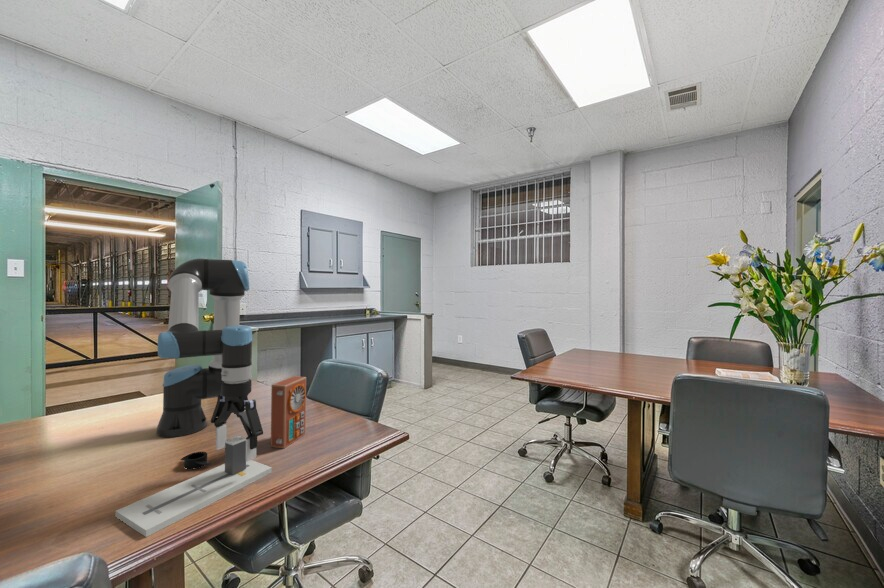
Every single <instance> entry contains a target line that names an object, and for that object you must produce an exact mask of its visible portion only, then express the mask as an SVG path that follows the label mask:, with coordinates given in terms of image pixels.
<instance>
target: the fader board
mask: <svg viewBox="0 0 884 588" xmlns="http://www.w3.org/2000/svg"><path fill="white" fill-rule="evenodd" d="M272 473H273V467H272V466H269V465H266V464H263V463H260V462H258V461H255V460H254V459H252V460H250V461H248V462H247V461H246V469H245V470H242V471H240V472H238V473H236V474H234V475H231V474H228V473H226V472H225V463H223V464H221V465H218V466H216V467H214V468H211V469H209V470H207V471H205V472H202V473H200V474H198V475H195V476H193V477H190V478H188V479H186V480H184V481H182V482H178V483H177V484H175V485H172V486H170V487H167V488H166V489H162V490H160V491H158V492H155V493H154V494H151V495H149V496H147V497H144V498H142V499H140V500H137V501H135V502H132V503H131V504H129V505H126V506H123V507H121V508H119V509H116V510H115V518H116V517H117V518H116V519H118V520H119V519H120V521H121V522H122V521H123V522H122V523H124V524H125V523H126V525H127V526H128V527H130V528H131V529H133V530H134V531H135V532H137V533H139V534H141V535H142V536H143V537H145V538H148V537H150V536H151V535H154V534H155V533H157V532H159V531H161V530H163V529H165V528H167V527H169V526H170V525H173V524H174V523H177V522H179V521H181V520H182V519H185V518H186V517H188V516H190V515H192V514H194V513H196V512H199V511H200V510H201V509H204V508H205V507H208V506H209V505H211V504H213V503H215V502H217V501H219V500H221V499H223V498H225V497H227V496H229V495H231V494H233V493H235V492H237V491H238V490H240V489H242V488H245V487H248V486H249V485H250V484H253V483H254V482H257V481H258V480H260V479H262V478H264V477H266V476H268V475H270V474H272Z"/></svg>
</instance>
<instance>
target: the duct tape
mask: <svg viewBox="0 0 884 588" xmlns="http://www.w3.org/2000/svg"><path fill="white" fill-rule="evenodd" d="M180 461H184V462H183V468H184V467H185V468H187V469H186V470H188V469H192V470H194V469H193V468H197V469H200V468H202V467H201V466H203V467H204V465H205V466H208V465H212V463H211V462H208V452H206V451H196V452H192V453H190V454H189V453H188V455H185V456H184V457H183V456H182V458H180ZM199 467H200V468H199ZM185 468H184V469H185Z"/></svg>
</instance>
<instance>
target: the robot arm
mask: <svg viewBox="0 0 884 588" xmlns="http://www.w3.org/2000/svg"><path fill="white" fill-rule="evenodd" d="M249 279H250V278H249V272H248V267H247V265H246V263H245V262H244V261H241V260H235V259H213V258H193V259H190V260H187V261H185V262H183V263H181V264H179V265H178V266H177V267H175V269H174V270H172V272H171V274H170V275H169V277H168V281H167V282H168V283H167V287H168V289H169V292H170V305H169V316H168V325H167V327H168V329H167V331H163V332H160V333H159V334H158V336H157V356H158V358H160V359H183V358H186V359H187V358H194V357H205V356H206V357H207V356H213V357H212V359H211V361H210V362H208V367H206V368H203V367H202V365H201V364H189V365H184V366H180V367H176V368H172V369H170V370H168V371H166V373H165V374H164V375H163V383H162V387H163V395H162V397H163V399H162V402H163V403H162V404H163V405H162V407H163V408H162V414H161V416H160V419H159V421H158V424H157V426H156V435H157V434H158V435H159V437H161V436H162V437H161V438H176V437H182V436H187V435H191V434H194V433H198V432H199V431H201V430H202V431H203V429H205V428H206V427H207V417H206V415H205V411H204V409H203V406H202V400H206V399H212V398H213V399H214V398H217V401H216V404H215V407H214V410H213V413H212V415H211V418H210V423H211V424H214V425H213V426H214V427H215V450H216V451H219V450H221V449H223V448H224V449H225V440H228V438H227V437H228V425H227V421H228V419H229V418H230V416H231V414H234V415H235V416H236V417H237V418H239V420H240V421H241V424H242V426H243V428H244V431H245V433H246V435H247V436H246V437H245V438H246V461H247V462H248V461H250V460H254V459H257V448H258V437H260V436H262V435H264V431H263V427H262V424H261V423H262V422H261V420H260V417H259V412H258V410H257V402H256V401H257V400H256V399H252V400H250V399H249V398H248V396H249V394H250V393H252V383H253V382H252V376H253V364H252V355H253V353H252V352H253V340H254V337H253V329H252V327H251V326H249V325H240V318H241V317H240V316H241V315H240V314H241V312H240V310H241V299H242V298H243V297H244V296H246V295H245V292H248V291H249V290H250V280H249ZM201 291H209V296H210V297H211V298H212V299H213V301H214V302H213V305H214V306H213V308H214V309H213V313H214V314H213V329H212V330H209V329H208V330H199V329H200V325H199V324H200V323H199V322H200V321H199V319H200V318H199V317H200V316H199V313H200V311H199V310H200V308H199V307H200V306H199V300H200V299H199V295H200V294H199V293H200V292H201ZM158 435H157V436H158Z"/></svg>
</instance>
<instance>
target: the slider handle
mask: <svg viewBox="0 0 884 588" xmlns="http://www.w3.org/2000/svg"><path fill="white" fill-rule="evenodd" d="M246 438H247V437H244V436H241V435H237V436H234V437H231V438H227V440H225V447H224V464H225V472H226V473H228V474H231V475H234V474H236V473H238V472H240V471H242V470H245V469H246Z"/></svg>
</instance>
